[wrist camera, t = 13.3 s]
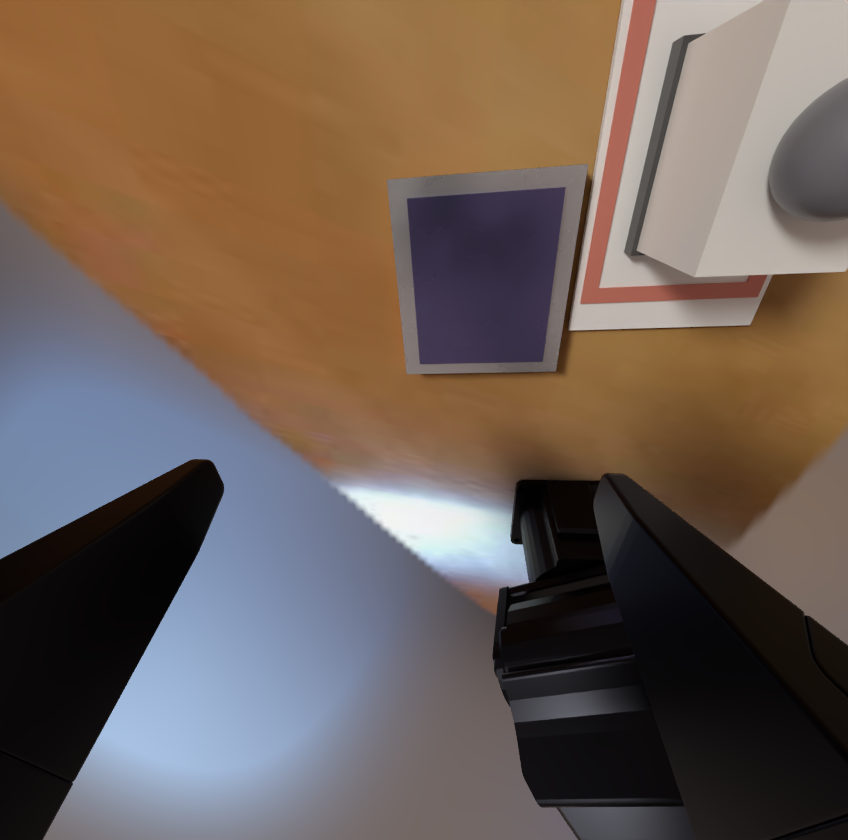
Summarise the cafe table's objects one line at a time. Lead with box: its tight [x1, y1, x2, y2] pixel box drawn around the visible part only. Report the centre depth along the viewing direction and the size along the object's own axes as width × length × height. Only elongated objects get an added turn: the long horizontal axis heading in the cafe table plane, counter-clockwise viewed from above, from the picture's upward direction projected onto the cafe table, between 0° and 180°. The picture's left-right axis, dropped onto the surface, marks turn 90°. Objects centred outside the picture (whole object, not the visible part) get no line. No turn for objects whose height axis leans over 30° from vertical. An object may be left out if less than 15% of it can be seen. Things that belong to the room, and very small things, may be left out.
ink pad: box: [387, 164, 588, 374], centre depth 17 cm, size 9×8×2 cm
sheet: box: [568, 0, 773, 330], centre depth 14 cm, size 14×9×1 cm, turn 4°
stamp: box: [624, 0, 848, 277], centre depth 11 cm, size 5×7×8 cm
